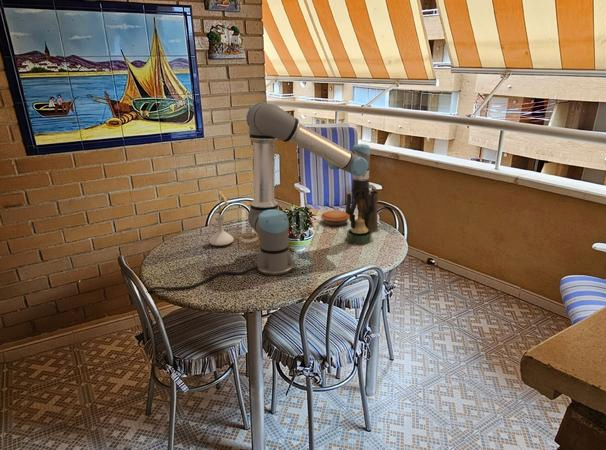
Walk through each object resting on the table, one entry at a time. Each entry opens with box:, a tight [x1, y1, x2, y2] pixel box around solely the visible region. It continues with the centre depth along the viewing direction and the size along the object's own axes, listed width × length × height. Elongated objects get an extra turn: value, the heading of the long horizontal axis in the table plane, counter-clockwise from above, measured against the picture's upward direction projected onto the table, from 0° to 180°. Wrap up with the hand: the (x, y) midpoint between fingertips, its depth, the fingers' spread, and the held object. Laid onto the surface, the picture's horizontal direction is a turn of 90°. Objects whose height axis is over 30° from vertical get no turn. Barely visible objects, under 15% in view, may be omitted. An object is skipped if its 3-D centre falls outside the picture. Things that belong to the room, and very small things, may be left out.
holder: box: [346, 228, 373, 245], centre depth 195 cm, size 12×12×4 cm
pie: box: [320, 210, 349, 226], centre depth 219 cm, size 16×16×5 cm
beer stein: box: [361, 189, 379, 233], centre depth 209 cm, size 15×11×20 cm
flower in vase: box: [209, 190, 235, 247], centre depth 191 cm, size 13×11×25 cm
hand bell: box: [350, 199, 368, 234], centre depth 192 cm, size 8×8×16 cm
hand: (359, 226), depth 194 cm, fingers closed on hand bell, 6 cm apart
